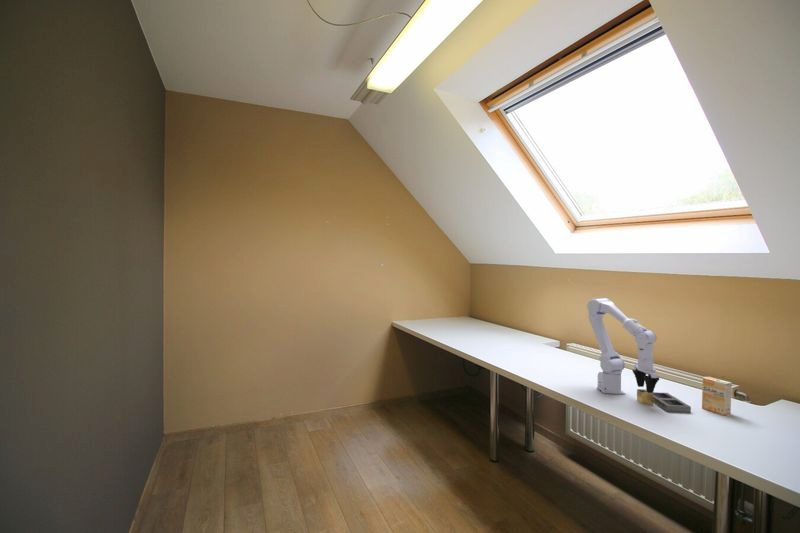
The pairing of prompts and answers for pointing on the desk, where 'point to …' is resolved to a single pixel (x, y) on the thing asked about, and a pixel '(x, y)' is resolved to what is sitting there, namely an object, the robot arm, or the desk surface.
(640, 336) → the robot arm
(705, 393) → the supplement box
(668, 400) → the grey metal flat frame
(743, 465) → the desk surface
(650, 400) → the nut block
